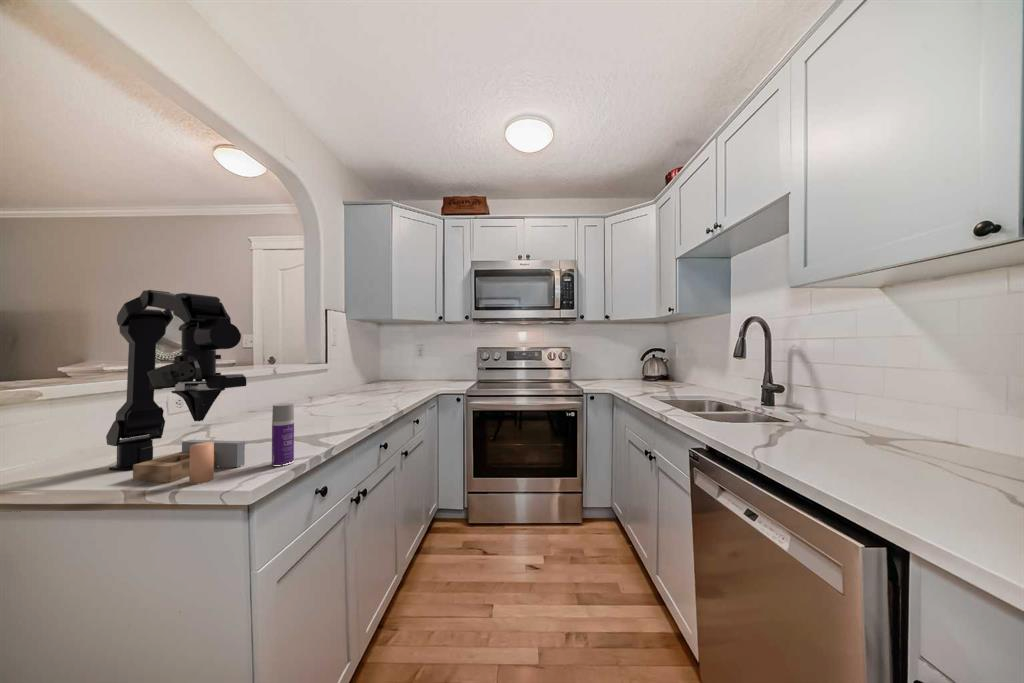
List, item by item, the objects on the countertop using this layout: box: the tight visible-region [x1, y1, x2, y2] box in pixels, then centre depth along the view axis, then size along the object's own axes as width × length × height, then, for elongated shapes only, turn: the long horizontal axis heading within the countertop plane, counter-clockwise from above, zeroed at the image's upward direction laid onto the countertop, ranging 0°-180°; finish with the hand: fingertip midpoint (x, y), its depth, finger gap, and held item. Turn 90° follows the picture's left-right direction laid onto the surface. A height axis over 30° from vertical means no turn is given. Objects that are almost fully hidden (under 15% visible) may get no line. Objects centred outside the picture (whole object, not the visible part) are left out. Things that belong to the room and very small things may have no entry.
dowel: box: [188, 442, 215, 485], centre depth 77 cm, size 4×4×8 cm
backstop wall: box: [181, 439, 246, 468], centre depth 87 cm, size 16×2×6 cm, turn 82°
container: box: [271, 402, 295, 466], centre depth 88 cm, size 5×5×15 cm
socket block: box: [132, 451, 217, 483], centre depth 81 cm, size 10×10×4 cm
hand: (198, 421), depth 76 cm, fingers closed
